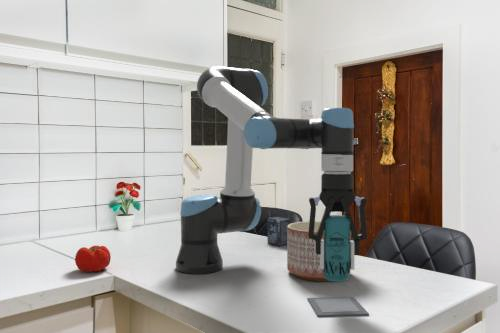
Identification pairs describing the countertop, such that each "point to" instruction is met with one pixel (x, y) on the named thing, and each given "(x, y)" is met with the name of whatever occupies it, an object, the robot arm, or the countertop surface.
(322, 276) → the planter
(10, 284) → the countertop surface
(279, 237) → the box
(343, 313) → the slate mat
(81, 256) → the tomato
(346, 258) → the beverage bottle
